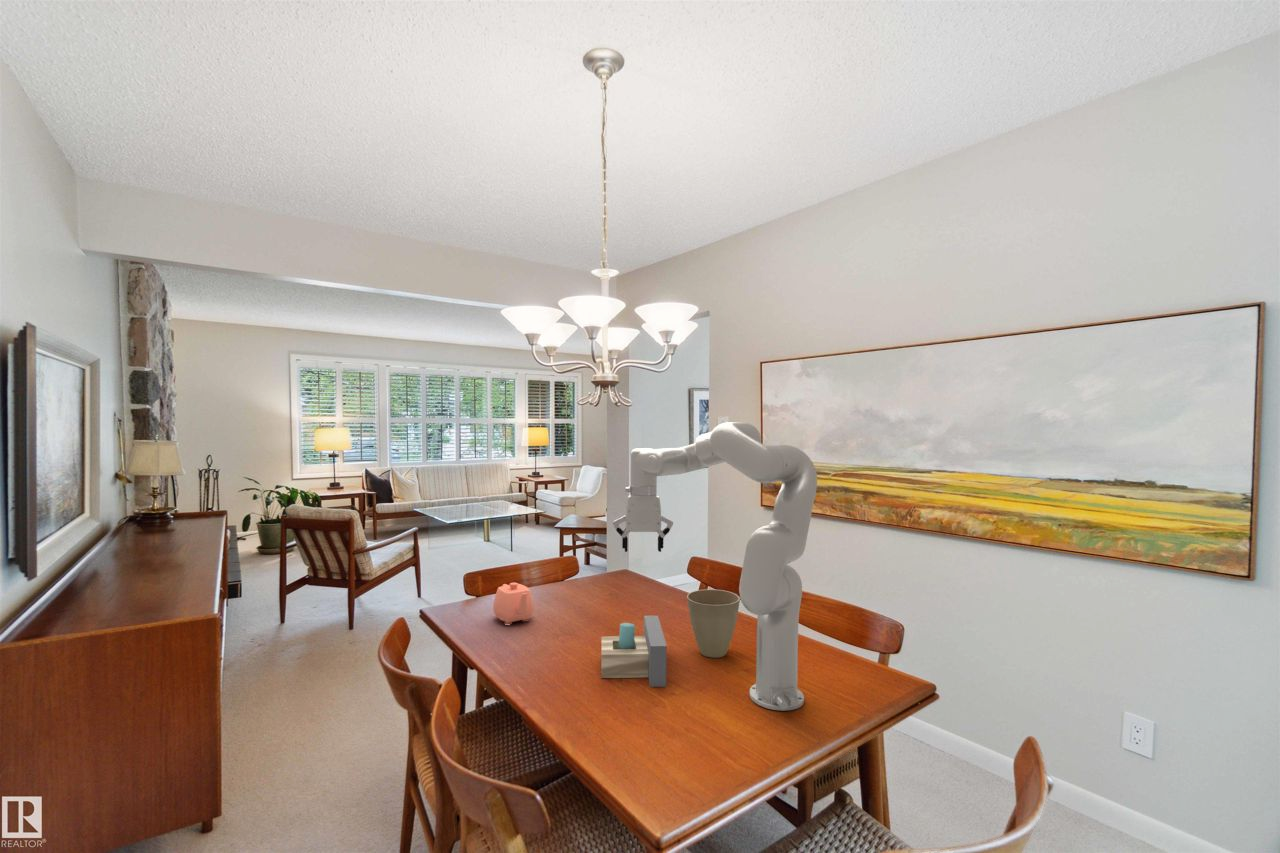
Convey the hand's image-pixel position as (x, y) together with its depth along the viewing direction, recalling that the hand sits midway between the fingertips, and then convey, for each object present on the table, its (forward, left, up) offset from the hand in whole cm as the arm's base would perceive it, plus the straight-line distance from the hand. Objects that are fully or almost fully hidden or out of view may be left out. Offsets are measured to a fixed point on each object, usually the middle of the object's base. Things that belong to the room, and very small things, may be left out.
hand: (642, 550), depth 161 cm
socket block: (-12, +6, -28) cm, 31 cm away
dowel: (-12, +5, -27) cm, 30 cm away
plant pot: (-3, -20, -28) cm, 35 cm away
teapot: (+25, +40, -29) cm, 55 cm away
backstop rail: (-12, -2, -28) cm, 31 cm away
